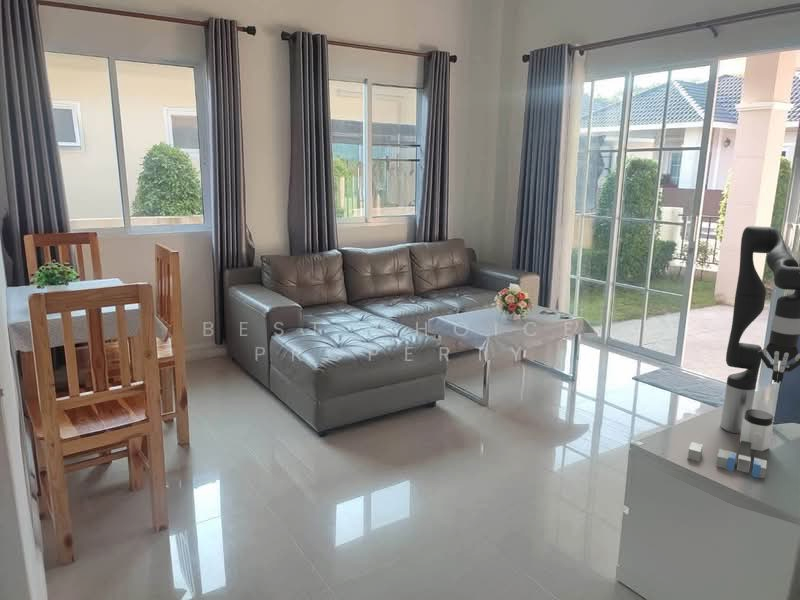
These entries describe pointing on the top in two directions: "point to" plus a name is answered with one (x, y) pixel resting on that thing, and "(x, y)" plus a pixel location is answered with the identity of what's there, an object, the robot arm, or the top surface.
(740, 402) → the robot arm
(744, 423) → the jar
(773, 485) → the top surface
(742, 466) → the tall dark pillar
